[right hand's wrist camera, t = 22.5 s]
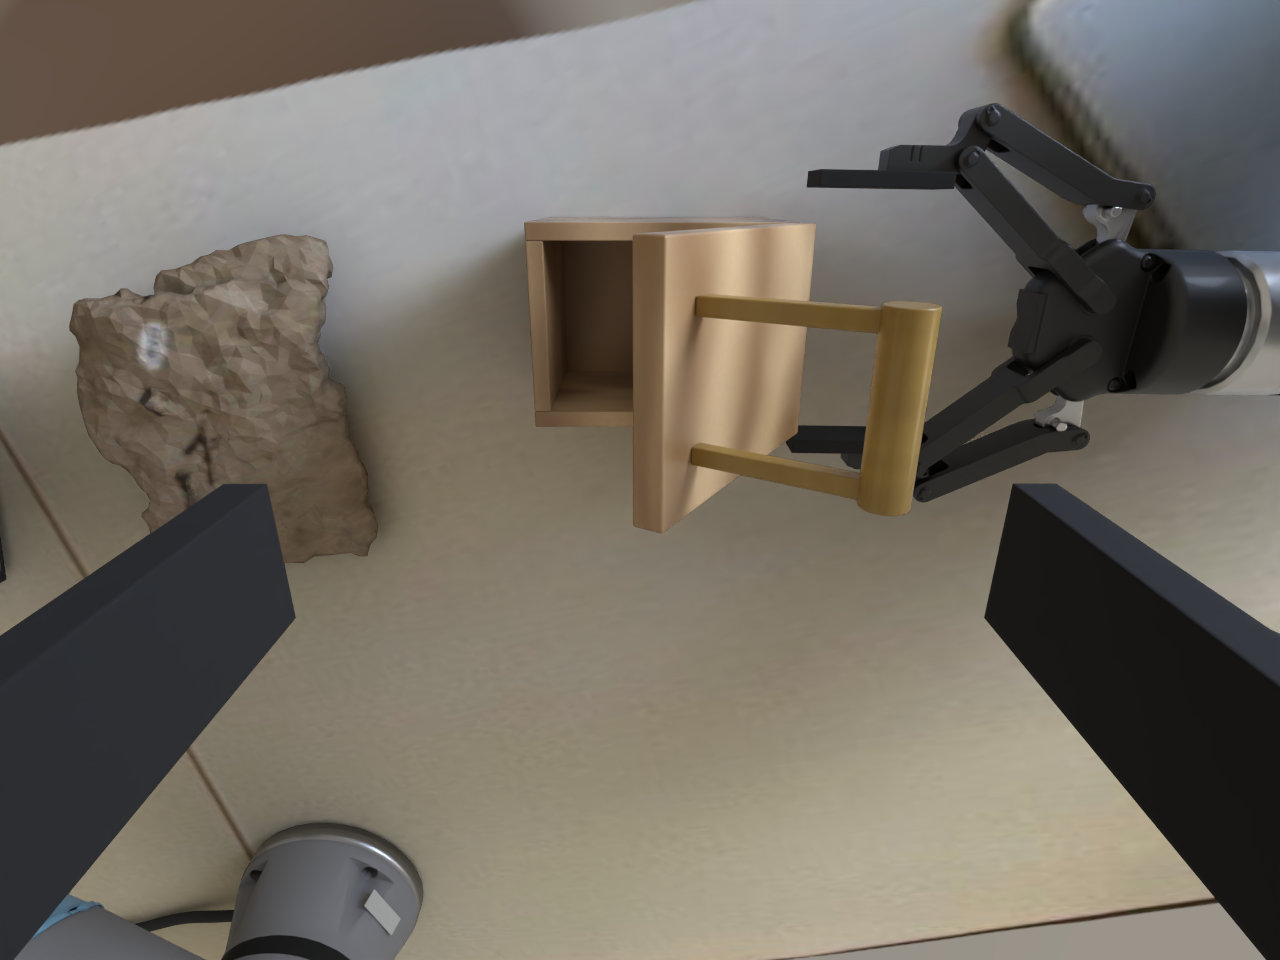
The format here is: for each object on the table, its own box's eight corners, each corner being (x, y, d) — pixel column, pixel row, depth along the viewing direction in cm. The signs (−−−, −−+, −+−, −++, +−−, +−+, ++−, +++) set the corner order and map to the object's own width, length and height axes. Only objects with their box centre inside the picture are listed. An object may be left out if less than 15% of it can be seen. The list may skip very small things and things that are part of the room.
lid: (632, 527, 25) (883, 595, 21) (631, 233, 21) (935, 242, 17) (775, 429, 36) (960, 461, 32) (790, 222, 32) (1002, 226, 28)
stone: (47, 231, 39) (-12, 258, 34) (331, 224, 42) (315, 247, 37) (172, 539, 50) (141, 594, 45) (390, 515, 53) (384, 564, 48)
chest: (557, 380, 46) (535, 427, 36) (550, 217, 42) (523, 222, 33) (754, 380, 46) (783, 427, 36) (765, 217, 42) (800, 222, 33)
